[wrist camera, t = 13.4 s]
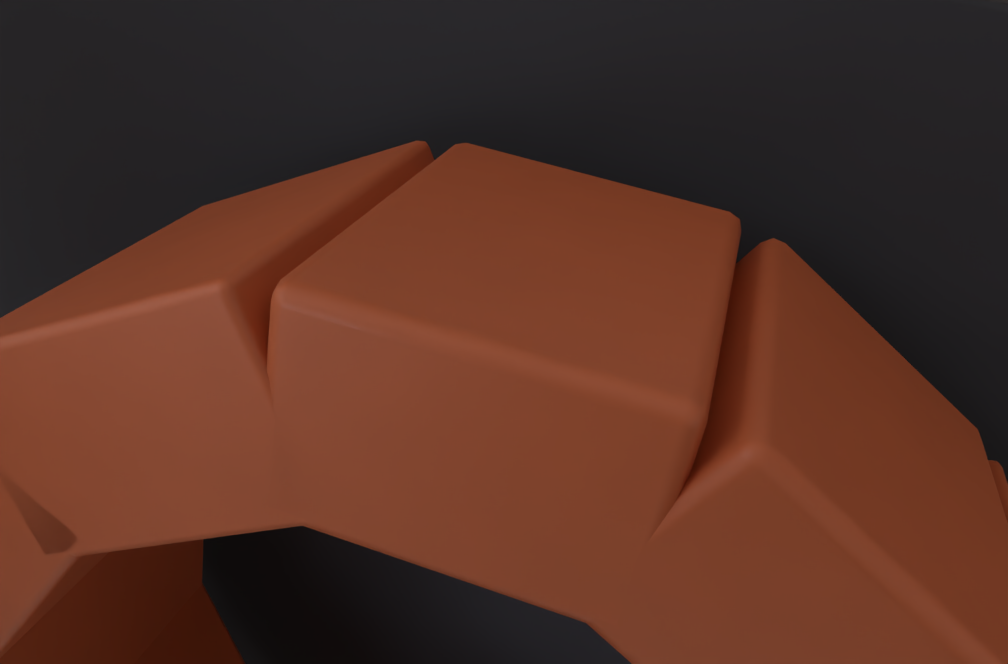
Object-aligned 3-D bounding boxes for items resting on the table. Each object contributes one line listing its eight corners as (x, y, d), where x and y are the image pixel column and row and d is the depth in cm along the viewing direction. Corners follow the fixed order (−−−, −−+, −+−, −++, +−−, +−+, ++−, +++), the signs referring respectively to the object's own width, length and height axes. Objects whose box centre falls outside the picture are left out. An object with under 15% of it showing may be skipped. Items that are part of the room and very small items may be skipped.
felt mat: (2586, 338, 4) (2739, 376, 4) (1325, 1238, 9) (1344, 1290, 9) (-456, -317, 7) (-517, -325, 7) (-217, 617, 12) (-247, 639, 12)
